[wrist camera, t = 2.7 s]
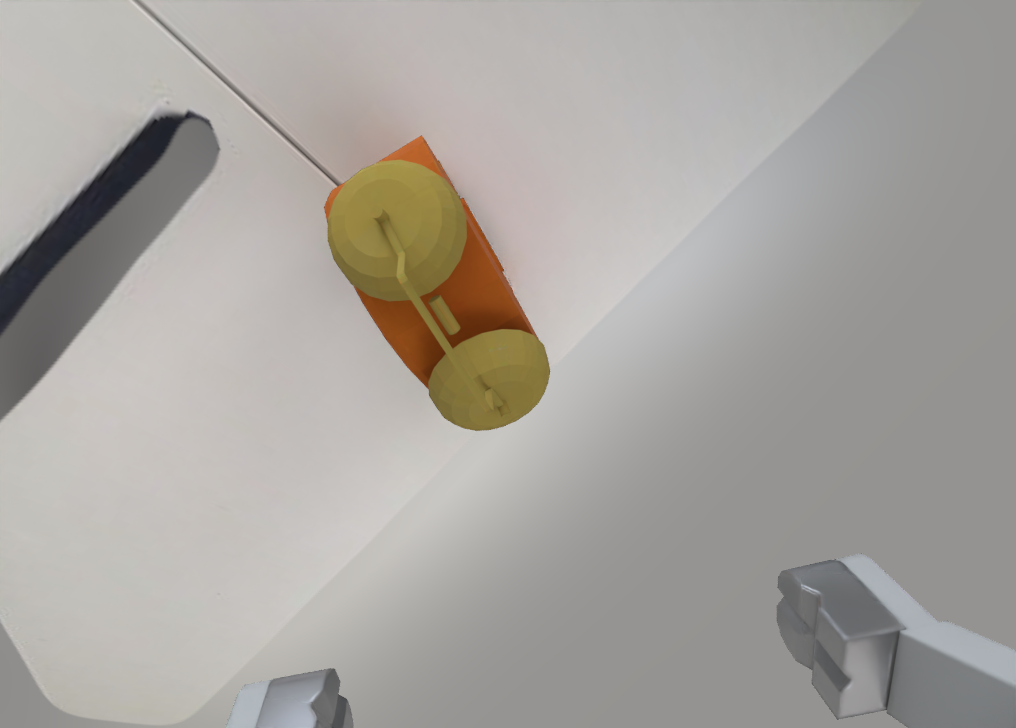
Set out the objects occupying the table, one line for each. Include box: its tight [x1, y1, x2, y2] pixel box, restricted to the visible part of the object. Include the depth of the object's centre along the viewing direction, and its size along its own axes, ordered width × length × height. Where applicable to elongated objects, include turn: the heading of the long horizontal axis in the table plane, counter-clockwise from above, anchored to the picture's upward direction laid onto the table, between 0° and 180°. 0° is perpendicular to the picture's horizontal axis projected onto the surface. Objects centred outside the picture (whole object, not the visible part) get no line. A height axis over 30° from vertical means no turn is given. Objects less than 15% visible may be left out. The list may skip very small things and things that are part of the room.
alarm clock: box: [324, 135, 550, 431], centre depth 29 cm, size 13×6×20 cm, turn 29°
